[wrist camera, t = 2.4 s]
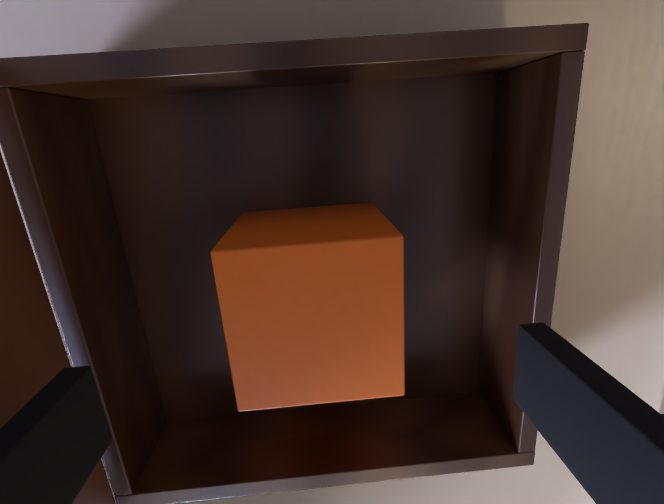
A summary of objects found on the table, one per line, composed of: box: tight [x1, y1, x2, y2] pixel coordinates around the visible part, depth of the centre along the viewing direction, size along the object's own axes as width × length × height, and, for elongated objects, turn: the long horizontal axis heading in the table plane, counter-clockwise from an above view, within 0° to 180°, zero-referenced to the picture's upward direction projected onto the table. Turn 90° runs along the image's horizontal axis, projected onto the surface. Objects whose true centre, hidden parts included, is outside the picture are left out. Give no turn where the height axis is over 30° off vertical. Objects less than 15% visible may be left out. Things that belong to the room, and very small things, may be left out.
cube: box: [210, 202, 405, 412], centre depth 18 cm, size 7×7×7 cm
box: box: [0, 23, 589, 504], centre depth 19 cm, size 22×21×6 cm
